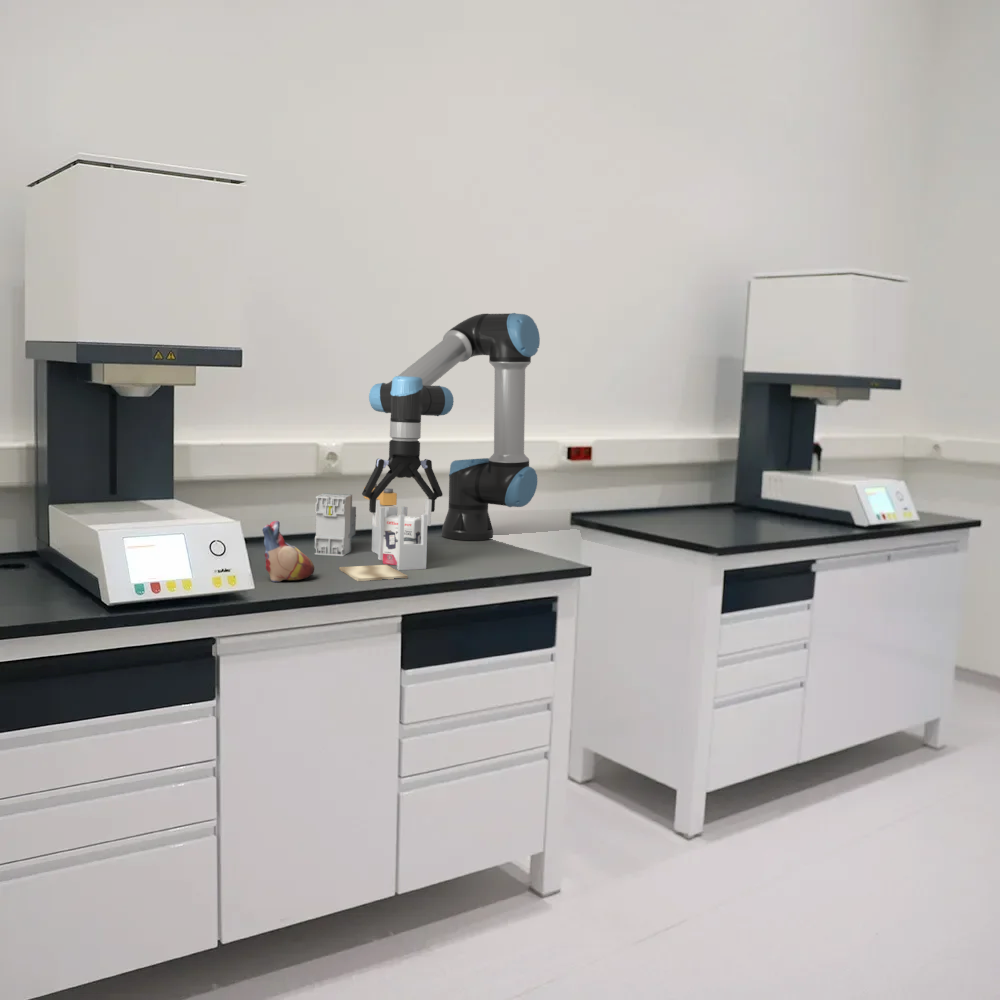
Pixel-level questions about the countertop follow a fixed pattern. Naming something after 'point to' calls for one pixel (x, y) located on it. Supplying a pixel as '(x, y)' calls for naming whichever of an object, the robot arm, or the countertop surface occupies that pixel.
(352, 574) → the birch pad
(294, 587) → the countertop surface
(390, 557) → the ink box
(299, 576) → the anatomical model
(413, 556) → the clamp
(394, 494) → the bar
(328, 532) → the circuit breaker
